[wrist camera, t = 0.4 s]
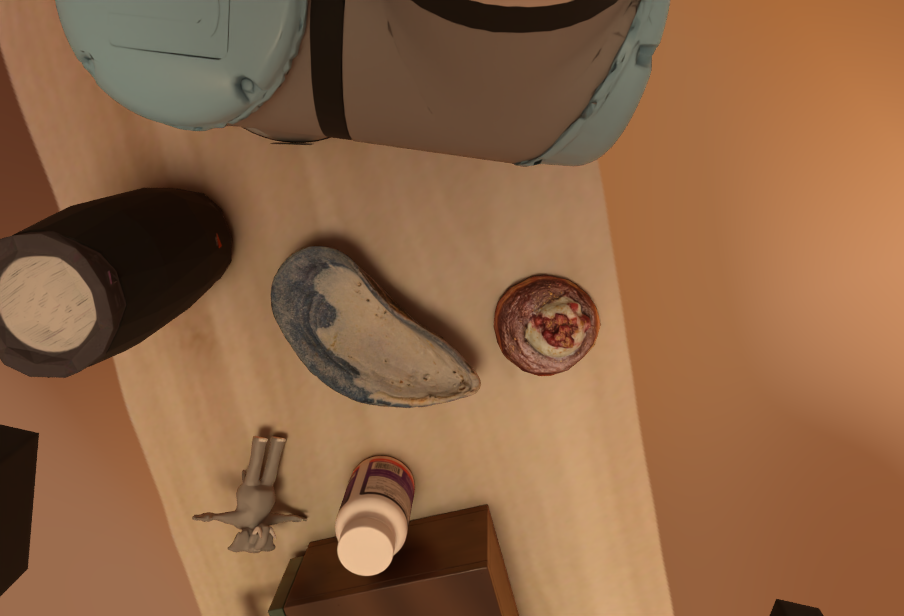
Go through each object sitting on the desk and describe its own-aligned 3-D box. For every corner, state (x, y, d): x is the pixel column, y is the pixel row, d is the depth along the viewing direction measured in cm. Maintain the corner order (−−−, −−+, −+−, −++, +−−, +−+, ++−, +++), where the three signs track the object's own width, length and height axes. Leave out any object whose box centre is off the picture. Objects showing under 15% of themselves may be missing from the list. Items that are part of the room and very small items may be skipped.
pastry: (614, 299, 57) (624, 320, 52) (571, 383, 59) (576, 411, 54) (517, 257, 56) (518, 275, 52) (477, 344, 59) (475, 368, 54)
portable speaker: (249, 192, 56) (130, 242, 37) (230, 309, 59) (109, 411, 40) (136, 165, 56) (-40, 201, 37) (122, 283, 59) (-50, 373, 40)
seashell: (477, 232, 56) (476, 244, 51) (482, 389, 60) (481, 414, 55) (274, 238, 57) (255, 251, 52) (290, 392, 60) (273, 418, 56)
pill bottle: (373, 523, 63) (353, 597, 54) (338, 473, 62) (311, 539, 53) (428, 494, 62) (417, 564, 53) (393, 442, 61) (376, 505, 52)
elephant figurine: (341, 447, 62) (318, 559, 61) (302, 433, 66) (281, 537, 65) (229, 438, 55) (202, 563, 54) (195, 423, 59) (169, 538, 59)
